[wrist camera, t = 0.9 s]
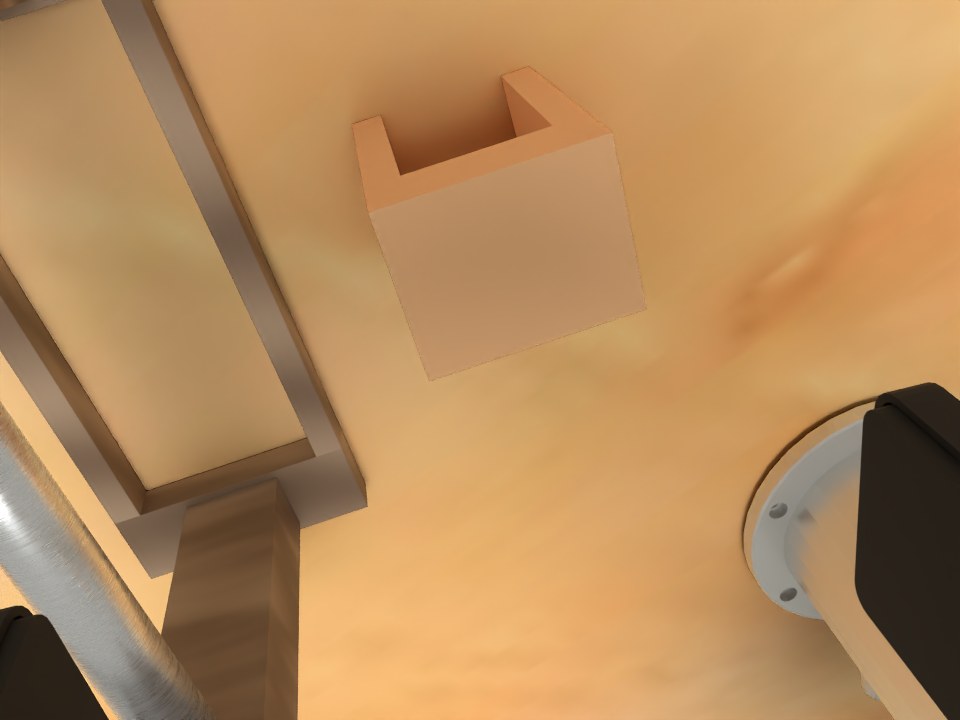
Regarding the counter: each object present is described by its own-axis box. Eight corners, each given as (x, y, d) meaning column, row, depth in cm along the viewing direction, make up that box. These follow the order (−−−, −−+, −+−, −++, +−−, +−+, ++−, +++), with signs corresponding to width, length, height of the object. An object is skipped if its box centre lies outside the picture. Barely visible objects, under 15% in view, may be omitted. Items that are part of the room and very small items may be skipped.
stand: (365, 484, 35) (396, 810, 23) (156, 553, 35) (72, 921, 23) (90, -139, 24) (-157, -173, 11) (-224, -40, 23) (-831, 41, 11)
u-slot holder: (561, 204, 31) (646, 309, 23) (398, 257, 31) (429, 381, 23) (529, 66, 28) (612, 132, 21) (351, 124, 28) (367, 212, 21)
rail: (258, 755, 24) (255, 814, 23) (198, 776, 24) (191, 836, 23) (-268, -30, 14) (-342, -20, 12) (-376, 5, 14) (-466, 19, 12)
